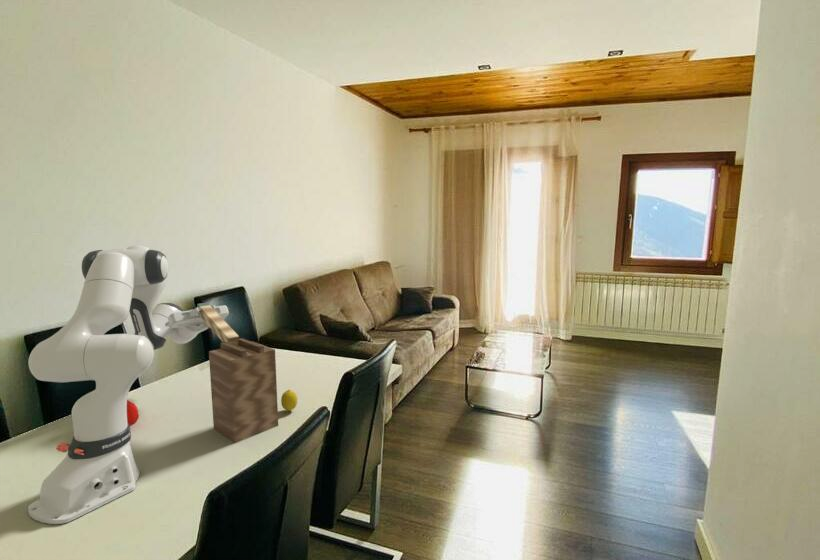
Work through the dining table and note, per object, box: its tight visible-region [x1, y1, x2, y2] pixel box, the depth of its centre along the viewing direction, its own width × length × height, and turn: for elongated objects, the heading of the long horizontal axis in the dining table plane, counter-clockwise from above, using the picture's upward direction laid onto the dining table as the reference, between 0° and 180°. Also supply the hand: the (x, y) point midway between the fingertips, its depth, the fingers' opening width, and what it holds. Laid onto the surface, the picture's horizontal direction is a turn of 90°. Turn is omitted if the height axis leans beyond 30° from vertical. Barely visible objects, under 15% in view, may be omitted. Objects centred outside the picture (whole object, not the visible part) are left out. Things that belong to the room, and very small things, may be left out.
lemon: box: [280, 389, 298, 412], centre depth 151 cm, size 6×6×8 cm
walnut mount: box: [208, 337, 279, 444], centre depth 138 cm, size 15×14×28 cm
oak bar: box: [196, 302, 240, 346], centre depth 147 cm, size 24×4×4 cm, turn 49°
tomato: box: [127, 399, 140, 427], centre depth 137 cm, size 14×13×9 cm
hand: (206, 308), depth 152 cm, fingers closed on oak bar, 3 cm apart
